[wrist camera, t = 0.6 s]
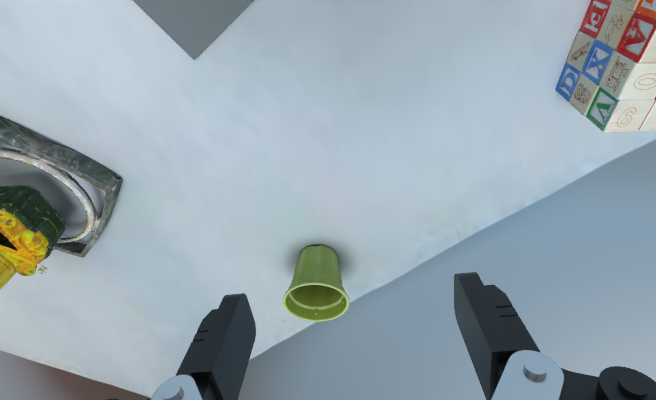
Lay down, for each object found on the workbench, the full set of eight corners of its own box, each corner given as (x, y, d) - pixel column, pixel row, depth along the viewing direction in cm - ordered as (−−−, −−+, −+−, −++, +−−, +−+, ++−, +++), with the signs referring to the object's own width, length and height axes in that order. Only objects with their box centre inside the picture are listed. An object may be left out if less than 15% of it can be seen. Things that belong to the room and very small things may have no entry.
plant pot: (360, 253, 57) (362, 300, 50) (325, 282, 62) (323, 328, 55) (310, 227, 54) (306, 274, 47) (278, 260, 59) (270, 307, 52)
